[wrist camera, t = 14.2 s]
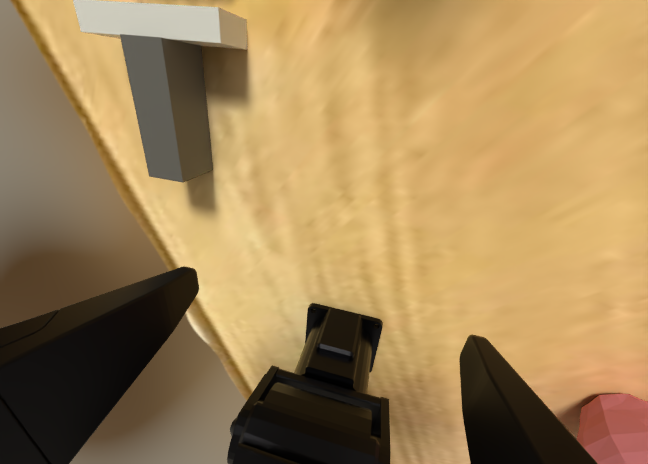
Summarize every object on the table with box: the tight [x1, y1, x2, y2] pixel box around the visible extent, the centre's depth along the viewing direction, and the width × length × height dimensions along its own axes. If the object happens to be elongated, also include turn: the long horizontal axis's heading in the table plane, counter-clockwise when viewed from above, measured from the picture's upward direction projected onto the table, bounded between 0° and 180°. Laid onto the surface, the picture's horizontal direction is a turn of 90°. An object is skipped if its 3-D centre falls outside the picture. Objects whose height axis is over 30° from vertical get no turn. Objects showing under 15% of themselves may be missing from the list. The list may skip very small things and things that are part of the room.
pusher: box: [73, 0, 247, 182], centre depth 18 cm, size 10×9×4 cm
